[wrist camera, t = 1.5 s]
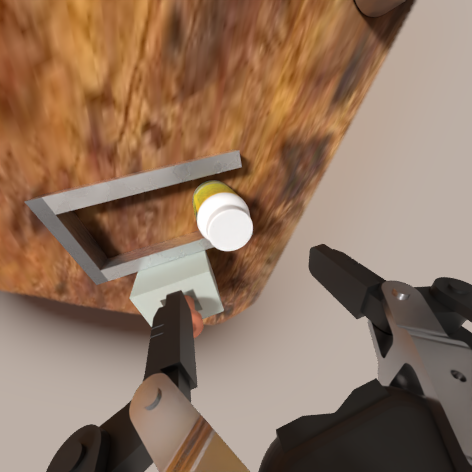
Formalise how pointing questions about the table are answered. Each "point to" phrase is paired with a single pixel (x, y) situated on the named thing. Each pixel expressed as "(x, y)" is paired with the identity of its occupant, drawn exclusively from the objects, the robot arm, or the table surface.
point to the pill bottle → (222, 216)
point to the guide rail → (65, 201)
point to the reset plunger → (195, 316)
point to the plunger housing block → (177, 285)
